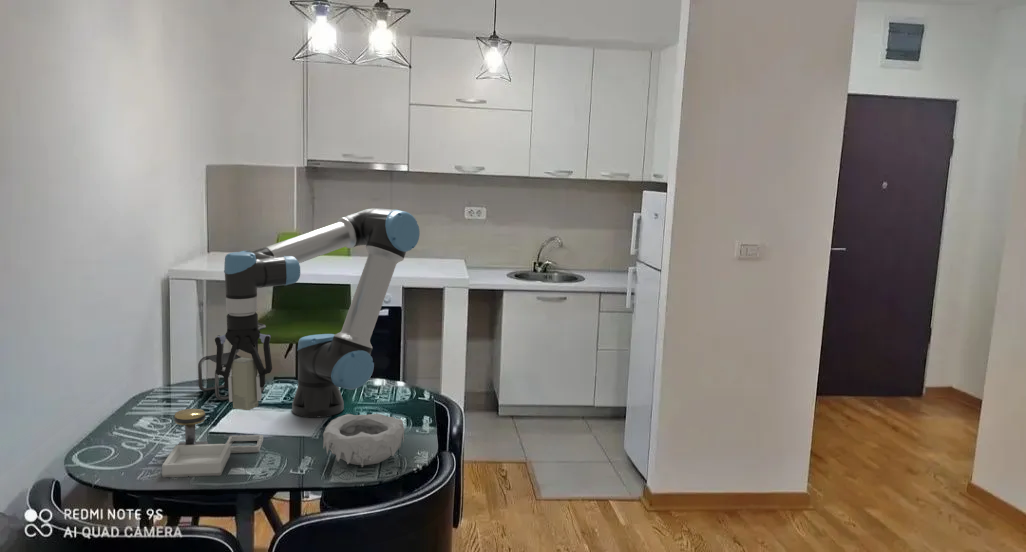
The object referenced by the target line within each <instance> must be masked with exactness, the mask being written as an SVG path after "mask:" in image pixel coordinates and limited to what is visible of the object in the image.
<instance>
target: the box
mask: <svg viewBox="0 0 1026 552" xmlns="http://www.w3.org/2000/svg"><path fill="white" fill-rule="evenodd" d="M240 357H241V358H238V359H235V360H233V362H232V366H231V371H230V372H231V375H232V393H233V401H232V408H233V409H236V410H243V411H251V410H252V409H255V408H257V407H258V406H259V401H257V384H256V376H257V374H258V370H257V368H256V365H255V363H254V360H253V359H252V357H250V358H249V357H242V356H240Z"/></svg>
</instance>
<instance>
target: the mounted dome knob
mask: <svg viewBox="0 0 1026 552" xmlns="http://www.w3.org/2000/svg"><path fill="white" fill-rule="evenodd" d="M205 420H206V412H205V410H203V409H199V408H188V409H187V408H186V409H181V410H178V411H177V412H175V413H174V416H173V421H174V423H175V424H176V425H179V426H184V431H185V432H184V433H185V437H184V438H185V441H180V442H178V444H177V445H200V444H209V442H208V441H204V440H203V441H196V425H198V424H200V423H203V422H205Z"/></svg>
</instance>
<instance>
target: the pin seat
mask: <svg viewBox="0 0 1026 552" xmlns="http://www.w3.org/2000/svg"><path fill="white" fill-rule="evenodd" d="M234 441H257V443H256V444H255V445H235V446H233V445H232V444H233V443H235V442H234ZM263 441H264V435H263V434H253V435H252V434H251V435H249V434H247V435H229V437H228V439H227V441H226V442H225V444H230V454H238V453H239V454H240V453H241V454H243V453H244V454H245V453H246V454H247V453H259V452H260V450H261V447H262V445H263Z"/></svg>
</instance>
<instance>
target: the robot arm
mask: <svg viewBox="0 0 1026 552" xmlns="http://www.w3.org/2000/svg"><path fill="white" fill-rule="evenodd" d="M419 240H420V227H419V224H418V221H417V219H416V217H415V216H414V215H413V214H411V213H410V212H408V211H404V210H400V209H390V208H389V209H388V208H379V207H372V208H366V209H362V210H360V211H357V212H354V213H350V214H348V215H345V216H343V217H339V218H338V219H337V221H336V222H335V223H331V224H330V225H326V226H324V227H321V228H317V229H314V230H311V231H308V232H305V233H303V234H300V235H297V236H294V237H291V238H288V239H285V240H282V241H279V242H276V243H274V244H270V245H268V246H265V247H262V248H259V249H255V250H240V251H233V252H229V253H227V254H226V255H225V256H224V270H223V272H224V283H225V308H226V309H225V311H226V313H227V315H226V333H225V334H223V335H217V336H216V337H215V338H214V342H215V345H216V355H217V358H216V362H215V370H216V374H217V375H218V376H222V377H223V385H224V387H225V388H224V389H227V390H228V396H229V399H228V402H229V403H233V393H232V374H231V372H232V371H231V366H232V362H233V360H234V358H235V355H236V352H237V349H242V348H244V349H249V351H250V353H251V354H250V353H249V354H250V355H251V359H252V358H253V360H254V363H255V365H256V368H257V376H256V384H257V401H258V402H260V401H261V400H262V392H261V387H263V388H265V386H266V375H267V374H270V373H271V372H272V370H273V365H272V356H271V346H270V342H271V337H272V335H271V334H269V333H268V334H264V333H261V330H260V331H259V329H258V327H259V326H258V323H259V319H258V318H259V314H258V313H257V312H258V289H261V288H271V287H278V286H288V285H292V284H295V283H297V282H298V281H299V279H300V277H301V265H300V264H301V263H304V262H306V261H309V260H313V259H316V258H318V257H320V256H323V255H326V254H329V253H331V252H334V251H337V250H340V249H343V248H347V249H352V248H355V247H358V246H359V247H360V246H365V248H366V250H367V253H368V256H367V258H366V261H365V263H364V267H363V269H362V272H361V275H360V278H359V280H358V283H357V285H356V289H355V292H354V295H353V297H352V300H351V304H350V305H349V306H350V307H349V309H348V311H347V314H346V317H345V320H344V323H343V325H342V328H341V330H340V332H337V333H335V334H334V333H322V334H321V333H319V334H310V335H306V336H302V337H300V338H299V340H298V344H297V349H296V351H297V381H298V382H297V388H296V390H295V394H294V397H293V400H292V403H291V404H292V405H291V412H292V413H293V414H294V415H296V416H299V417H304V418H323V417H324V418H325V417H331V416H335V415H337V414H340V413H342V412H343V410H344V409H345V407H344V406H345V405H344V403H345V402H344V399H343V396H342V393H341V390H340V388H341V389H346V390H356V389H359V388H361V387H362V386H364V385H365V384H366V383H368V382H369V380H370V379H371V376H373V372H374V367H375V362H373V361H374V360H373V356H371V355H372V351H373V346H372V344H371V339H372V335H373V331H374V329H375V327H376V323H377V321H378V318H379V316H380V315H379V314H380V312H381V309H382V307H383V304H384V302H385V301H384V300H385V298H386V295H387V292H388V289H389V286H390V283H391V281H392V278H393V274H394V272H395V269H396V267H397V264H398V263H400V262H402V261H404V259H405V256H406V254H407V252H410V251H412V249H414V248H415V247H416V246H417V245H418V243H419ZM259 339H260V341H261V343H263V346H262V347H263V357H264V362H265V367H264V364H263V361H262V359H261V357H260V354H259V350H258V351H257V348H256V345H255V343H256V341H257V340H258V341H259ZM226 340H227V341H228V342H229V344H230V345H231V349H230V355H229V358H228V362H227V365H226V367H224V368H225V369H223V353H224V344H225V343H226Z"/></svg>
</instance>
